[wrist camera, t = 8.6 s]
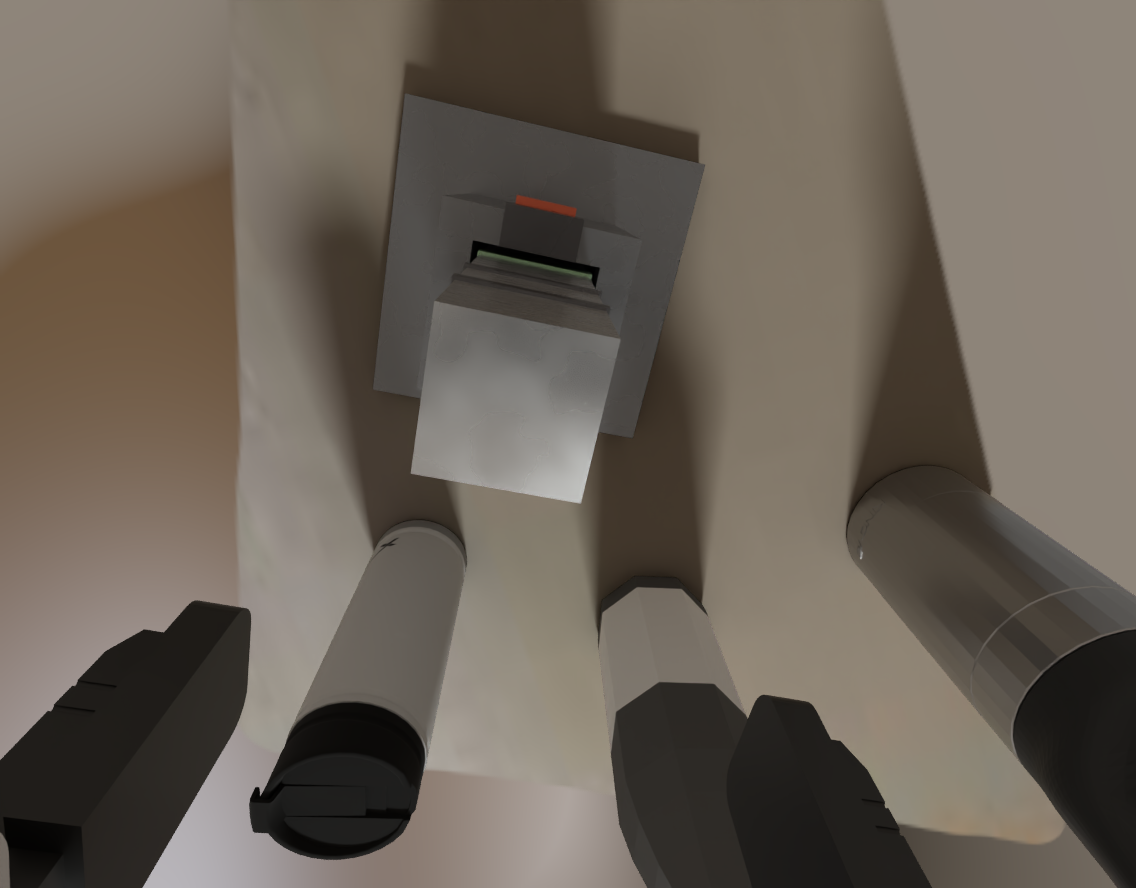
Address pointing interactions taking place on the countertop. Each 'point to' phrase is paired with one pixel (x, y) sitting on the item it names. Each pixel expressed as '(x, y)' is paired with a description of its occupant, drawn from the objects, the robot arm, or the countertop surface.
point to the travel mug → (370, 704)
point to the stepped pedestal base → (531, 231)
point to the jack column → (516, 376)
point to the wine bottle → (671, 734)
